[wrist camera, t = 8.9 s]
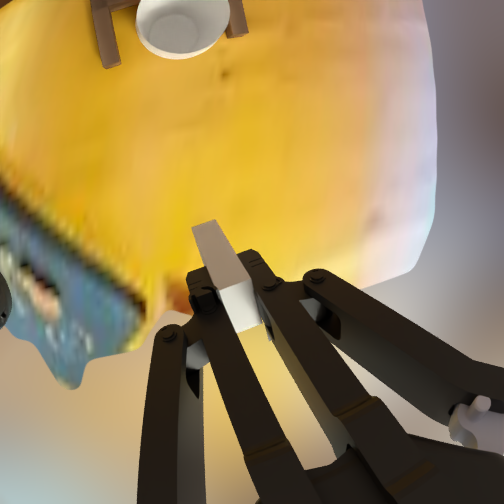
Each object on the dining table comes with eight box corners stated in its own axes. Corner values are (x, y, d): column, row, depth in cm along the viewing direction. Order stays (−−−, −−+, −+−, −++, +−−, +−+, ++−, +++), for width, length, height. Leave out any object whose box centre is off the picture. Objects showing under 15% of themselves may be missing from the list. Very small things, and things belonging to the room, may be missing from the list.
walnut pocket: (106, 69, 30) (103, 67, 28) (93, 5, 25) (90, -1, 23) (241, 36, 33) (248, 32, 31) (228, -25, 28) (234, -32, 26)
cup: (144, 4, 27) (144, -29, 17) (213, 9, 30) (238, -19, 21) (133, 66, 31) (127, 53, 22) (203, 69, 34) (224, 60, 25)
